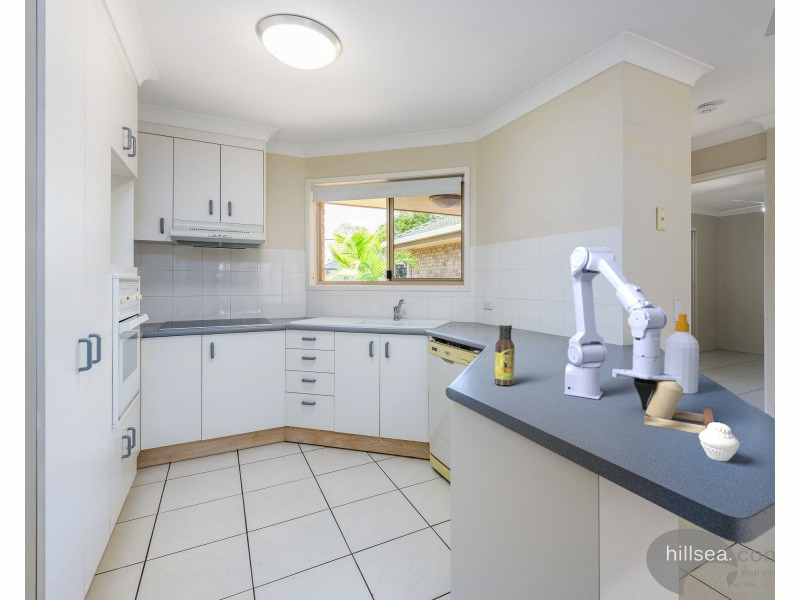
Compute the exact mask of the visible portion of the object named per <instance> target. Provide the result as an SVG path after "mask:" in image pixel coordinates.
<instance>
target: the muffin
mask: <svg viewBox="0 0 800 600" xmlns="http://www.w3.org/2000/svg"><path fill="white" fill-rule="evenodd" d="M698 439H699V441H700V445H701V446H702V448H703V450H704V452H705V454H706V455H707V457H708V458H710V459H711V460H715V461H718V462H729V461H730V460H731V459H732V457H733V456H734V455H735V454H736V452H737V451H738V449H739V447H740V441H739V440H738V439H737V437H735V435H734V433H732V429H731V428H730V426H729V425H728V424H725V423H721V422H715V421H714V422H713V423H710V424H708V426H707V428H706V429H705V431H702V432H701V433H700V434H698Z"/></svg>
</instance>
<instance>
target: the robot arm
mask: <svg viewBox="0 0 800 600" xmlns="http://www.w3.org/2000/svg"><path fill="white" fill-rule="evenodd" d="M569 257H570V258H569V259H570V270H571V272H570V273H571V282H572V283H571V284H572V295H573V309H574V319H575V321H574V322H575V331H576V332H575V334H574V335H573V336H572V337H571V338H569V339H568V349H567V358H568V359H569V362H570V363H567V364H566V366H565V370H564V371H565V372H564V393H563V394H564V395H567V396H575V397H578V398H579V397H581V398H588V399H593V400H599V399H600V398H601V397H602V395H603V394H604V391H601V367H602V366H603V364H604V363H605V361H606V360H607V359H608V349H607V347H606V345H605V341H604V338H603V337H602V336H601V335H600V334H599V333H597V327H596V326H597V325H596V314H595V304H594V293H593V280H594V278H596V277H597V276H598V275H600V274H601V275H602V276H603V277H604V278H605V279H606V280H607V282H608V283H609V284H610V285H611V286H612V288H613V289H615V291H616V292H615V298H616V300H617V301H618V303H619V304H620V305H621V307H622V308H623V310H624V311H625V312H626V313H627V315H628V316H629V317H627V323H628V326H629V327H630V330H631V333H630V334H631V335H632V340H633V341H632V342H633V344H632V368H631V369H623V368H613V369H612V370H611V371H612V375H611V376H612V378H615V379H616V378H621V379H622V378H623V379H628V380H629V379H630V380H633V385H634V387H635V390H636V392H637V394H638V396H639V399H640V403H641V408H642V411H646V407H647V405H648V402H649V400H650V397H651V395H652V392H653V390H654V388H655V386H656V382H657V381H658V380H668V381H669V382H672V381H673V382H676V383H678V385H679V386H681V376H675V375H669V374H664V372H663V373H662V372H660V364H661V363H660V360H661V334H662V333H661V332H662V331H661V330H663V329H664V328H665V327H666V325H667V322H668V315H667V314H666V312H665V310H664V309H663V308H662V307H660V306H656V305H655V304H654V303H652V301H650V300H649V299H648V297H647V296H646V295H645V293H644V292H642V288H641V286H640V285H637V284H634V283H629V280H628V279H627V278H626V277H625V275H624V273H623V272H622V270H621V269H620V267H619V265H618V264H617V263H616V261H615V259H616V255H615V254H614V253H613V252H612V250H611V249H610V248H609V247H607V246H604V247H595V246H594V247H591V246H589V247H587V246H585V247H584V246H578V247H576V248H574V250H573V252H572V253H571V255H570V256H569Z"/></svg>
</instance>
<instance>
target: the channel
mask: <svg viewBox="0 0 800 600" xmlns="http://www.w3.org/2000/svg"><path fill="white" fill-rule="evenodd" d="M712 412H713V411H712V408H707V407H704V408H703V414H702V413H696V412H690V411H683V410H679V409H678V410H677V409H675V412H674V414H673V417H672V418H673V419H674V418H675V419H680V420H687V421H691V422H692V421H693V422H700V423H703V425H699V424H694V423H688V422H682V421H677V420H672V419H671V420H666V419H660V418H654V417H651V416H649V415H647V416H646V415H644V417H643V418H644V419H643V421H644V422H643V423H644V425H648V426H653V427H659V428H664V429H671V430H676V431H683V432H688V433H693V434H698V435H699V434H700V433H701V432H702V431H705V429H706V428H707V426H708V424H710V423H713V422H715V420H714V417H713V416H714V415H713V413H712Z"/></svg>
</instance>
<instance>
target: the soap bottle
mask: <svg viewBox="0 0 800 600" xmlns="http://www.w3.org/2000/svg"><path fill="white" fill-rule="evenodd" d="M677 315H678V317H677V318H678V320H676V321H677V322H676V323H675V327H674V328H675V329H674V333H672V334H670V336H668V338H666V340H665V343H664V363H663V364H664V365H663V367H664V368H663V369H664V370H663V374H669V375H675V376H681V387H682V388H683V393H682V395H683V394H684V395H691V394H694V395H695V394H697V393H698V392H699V391H698V390H699V389H698V388H699V366H700V365H699V364H700V363H699V361H700V360H699V359H700V345H699V341H698V340H697V339H696V338H695V337H694V335H693V334H690V323H688V322H689V321H688V314H685V313H681V312H680V313H679V314H677Z"/></svg>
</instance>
